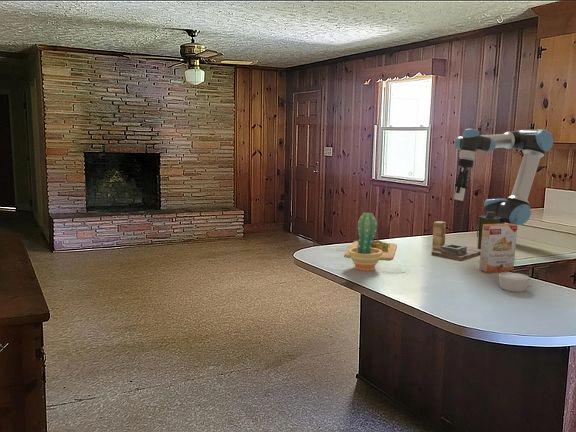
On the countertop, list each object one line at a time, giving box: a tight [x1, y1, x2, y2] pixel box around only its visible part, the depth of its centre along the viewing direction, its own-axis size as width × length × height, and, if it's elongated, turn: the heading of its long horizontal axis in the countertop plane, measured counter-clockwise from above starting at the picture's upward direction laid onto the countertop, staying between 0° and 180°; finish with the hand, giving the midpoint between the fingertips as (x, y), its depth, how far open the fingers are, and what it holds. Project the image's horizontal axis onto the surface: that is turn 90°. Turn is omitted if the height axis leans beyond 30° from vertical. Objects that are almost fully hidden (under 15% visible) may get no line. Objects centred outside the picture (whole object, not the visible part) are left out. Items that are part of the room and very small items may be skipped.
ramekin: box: [498, 272, 530, 293], centre depth 210 cm, size 11×11×5 cm
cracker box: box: [478, 223, 518, 274], centre depth 236 cm, size 14×6×21 cm, turn 105°
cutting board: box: [344, 239, 398, 261], centre depth 275 cm, size 35×23×8 cm
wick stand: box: [431, 243, 481, 261], centre depth 270 cm, size 24×16×4 cm, turn 133°
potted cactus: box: [347, 212, 383, 272], centre depth 239 cm, size 15×15×25 cm
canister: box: [476, 212, 501, 249], centre depth 278 cm, size 11×10×20 cm
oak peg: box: [432, 220, 447, 250], centre depth 282 cm, size 4×4×14 cm
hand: (458, 200), depth 277 cm, fingers open, 13 cm apart
